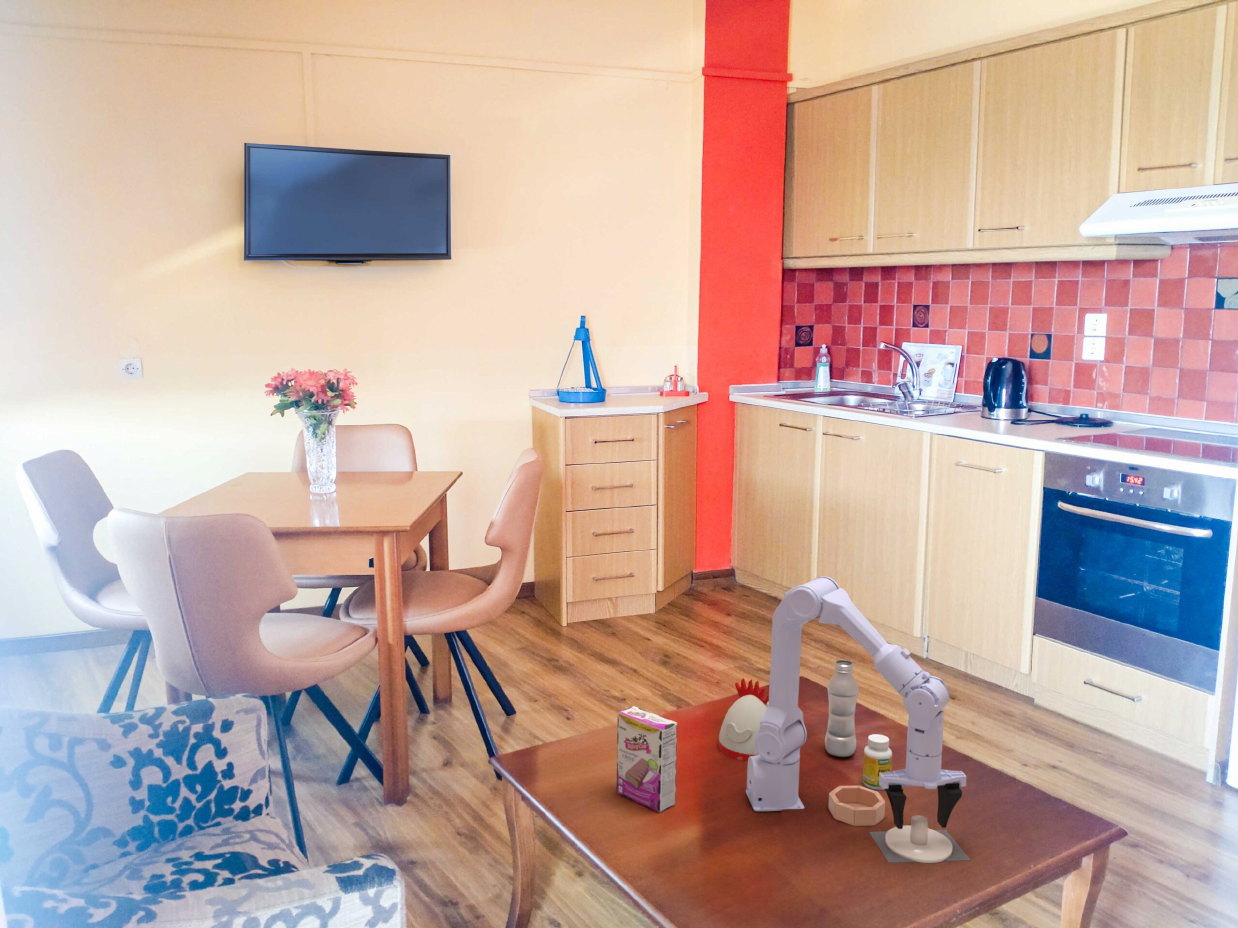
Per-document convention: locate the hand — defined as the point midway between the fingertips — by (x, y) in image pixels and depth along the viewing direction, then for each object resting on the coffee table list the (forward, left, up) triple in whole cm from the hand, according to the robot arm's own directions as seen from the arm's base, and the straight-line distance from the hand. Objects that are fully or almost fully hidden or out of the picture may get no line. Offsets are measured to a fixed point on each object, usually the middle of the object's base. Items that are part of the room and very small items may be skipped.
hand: (920, 825), depth 166 cm
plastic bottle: (-2, +38, -5) cm, 38 cm away
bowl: (-7, +12, -4) cm, 15 cm away
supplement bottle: (+1, +24, -5) cm, 25 cm away
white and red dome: (-20, +42, -5) cm, 47 cm away
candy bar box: (-45, +20, -5) cm, 50 cm away
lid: (0, 0, -4) cm, 4 cm away
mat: (0, 0, -4) cm, 4 cm away
